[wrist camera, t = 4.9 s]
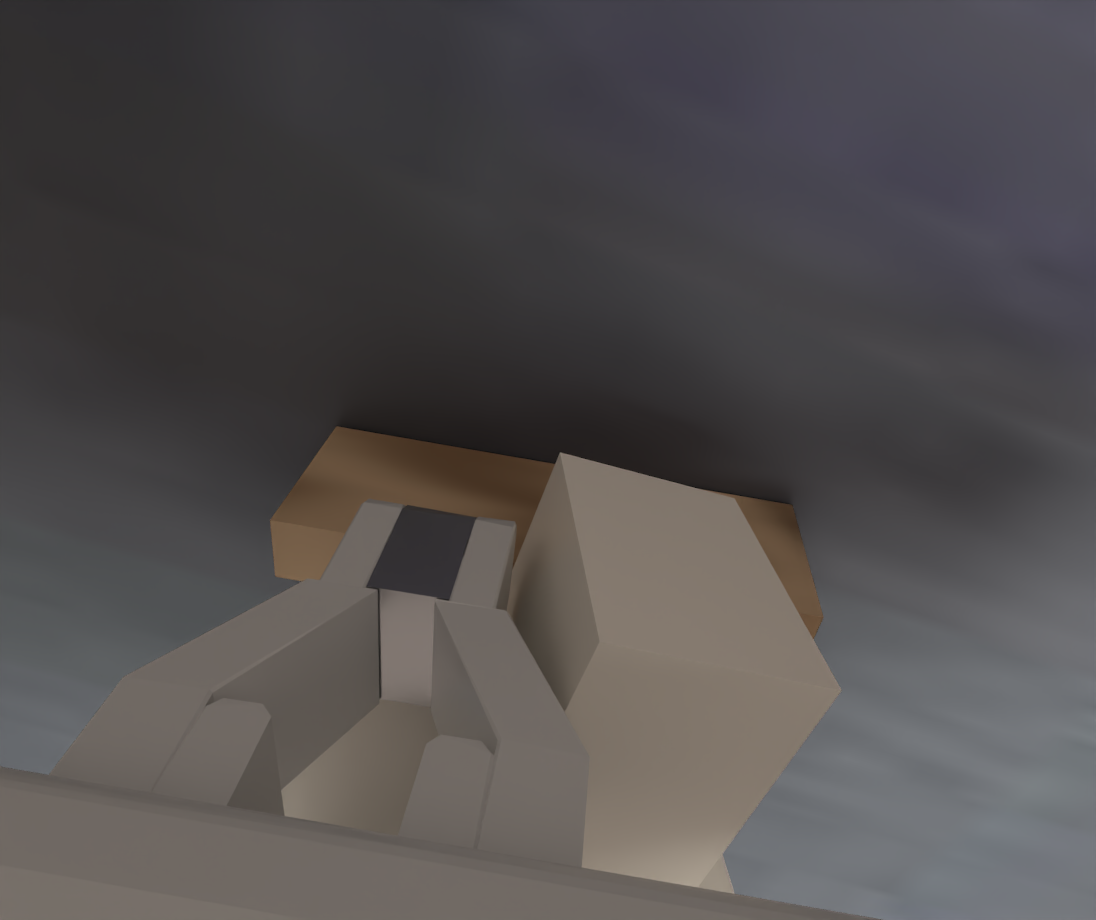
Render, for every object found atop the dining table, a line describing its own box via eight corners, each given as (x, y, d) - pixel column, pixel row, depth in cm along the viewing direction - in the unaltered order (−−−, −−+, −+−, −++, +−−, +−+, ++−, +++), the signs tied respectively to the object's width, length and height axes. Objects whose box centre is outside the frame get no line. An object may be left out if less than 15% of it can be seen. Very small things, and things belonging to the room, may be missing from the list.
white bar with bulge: (239, 908, 20) (140, 1288, 14) (394, 309, 12) (321, 585, 6) (509, 934, 22) (524, 1281, 16) (794, 427, 14) (1039, 729, 8)
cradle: (346, 777, 20) (303, 888, 18) (336, 426, 14) (270, 520, 12) (665, 835, 20) (667, 956, 18) (792, 504, 14) (823, 617, 12)
